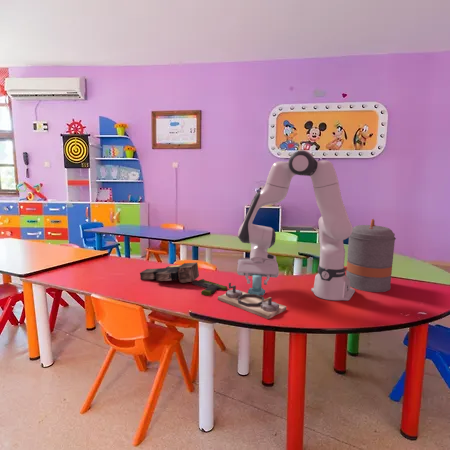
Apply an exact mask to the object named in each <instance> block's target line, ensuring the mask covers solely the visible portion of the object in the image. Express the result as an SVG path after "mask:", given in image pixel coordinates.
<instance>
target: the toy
mask: <svg viewBox="0 0 450 450" xmlns="http://www.w3.org/2000/svg"><path fill="white" fill-rule="evenodd" d="M199 272H200V271H199V264H198V262H184V263H183V264H179V265H178V264H177V265H167V266H166V267H163V268H162V267H161V268H160V267H159V268H146V269H144V270H143V271H141V272H139V276H140V280H142V281H143V280H156V282H164V281H165V282H167V281H179V283H182V284H186V283H189V282H190V283H191V282H193V281H196V280H197V278H199V277H200V273H199Z"/></svg>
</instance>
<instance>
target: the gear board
mask: <svg viewBox="0 0 450 450" xmlns="http://www.w3.org/2000/svg"><path fill="white" fill-rule="evenodd" d="M226 290H227V291H225V293H224V294H221V295H219V296H217V301H221V303H222V302H223V303H225V304H227V305H231V306H233V307H236V308H239V309H240V310H243V311H246V312H248V313H251V314H254V315H256V316H259V317H262V318H264V319H267V320H269V319H272V318H274V317H275V316H277V315H279V314H281V313H283V312H285V311H287V306H286V305H284V304H280V303H278V302H276V301H272V300H273V298H272V297H271V296H269V297H267V298H265V297H264V296H263V295H261V296H259V295H256V294H250V293H248V292H245V291H242V290H240V289H237V286H236V285H232V282H228V289H226Z"/></svg>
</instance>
